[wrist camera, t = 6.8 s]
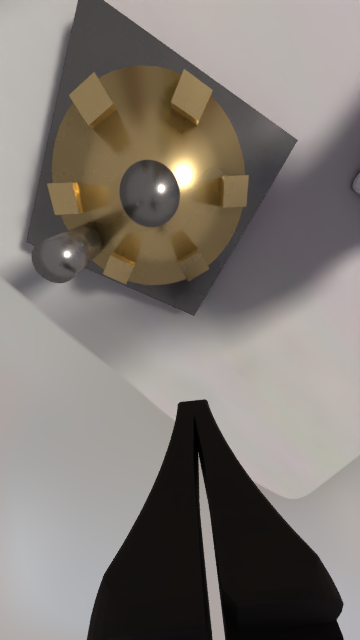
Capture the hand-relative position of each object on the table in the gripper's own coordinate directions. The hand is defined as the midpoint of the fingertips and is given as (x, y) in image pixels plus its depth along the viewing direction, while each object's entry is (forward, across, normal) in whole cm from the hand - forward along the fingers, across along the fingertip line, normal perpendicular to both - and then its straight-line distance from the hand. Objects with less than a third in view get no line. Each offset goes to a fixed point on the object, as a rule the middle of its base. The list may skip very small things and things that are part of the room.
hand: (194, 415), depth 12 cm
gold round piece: (+8, +1, -10) cm, 12 cm away
